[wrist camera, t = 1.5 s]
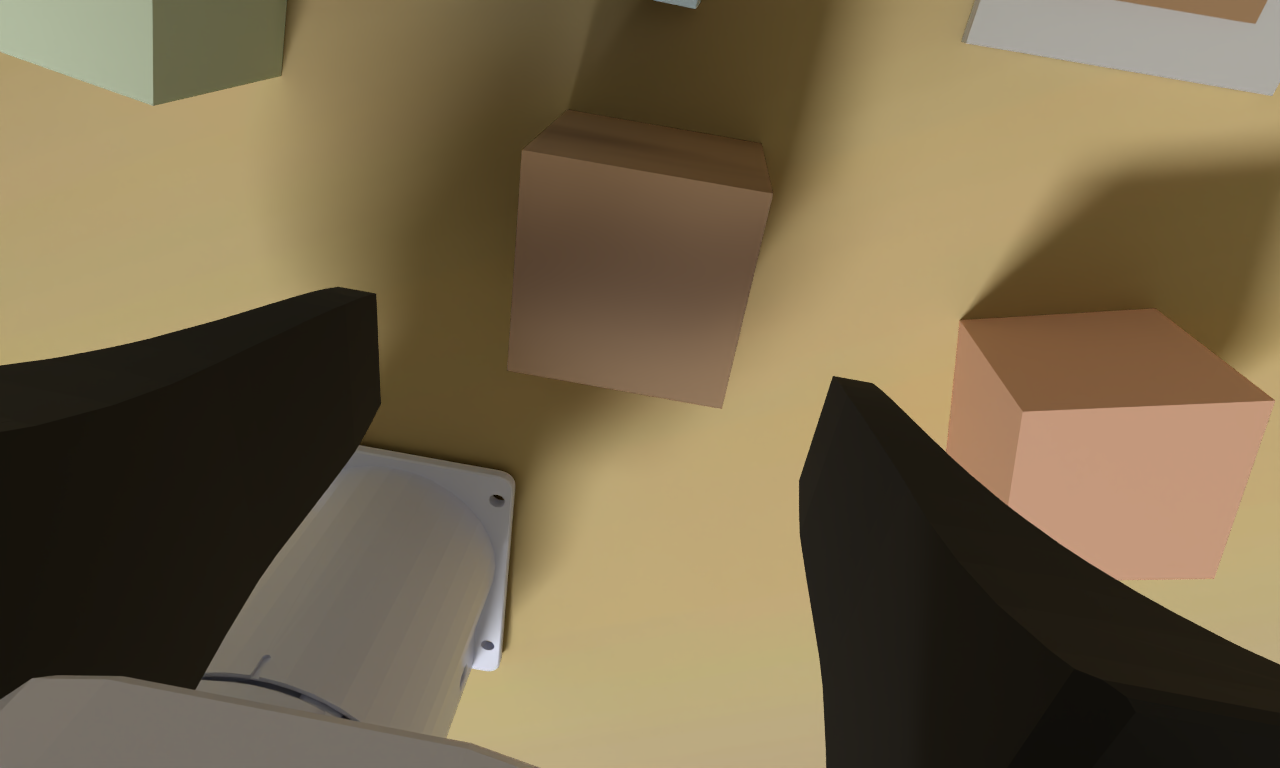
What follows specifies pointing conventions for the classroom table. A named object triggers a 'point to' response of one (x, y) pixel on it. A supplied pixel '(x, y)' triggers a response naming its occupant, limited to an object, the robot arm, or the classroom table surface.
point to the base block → (683, 3)
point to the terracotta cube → (1108, 435)
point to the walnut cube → (635, 256)
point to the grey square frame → (1143, 36)
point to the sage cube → (149, 43)
